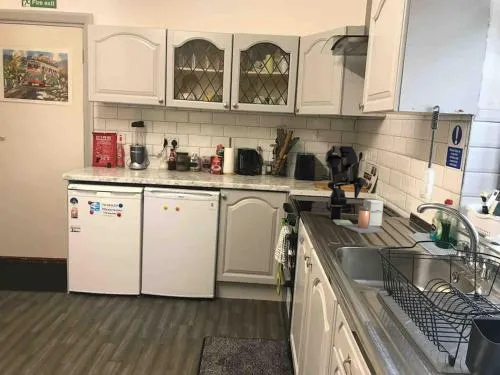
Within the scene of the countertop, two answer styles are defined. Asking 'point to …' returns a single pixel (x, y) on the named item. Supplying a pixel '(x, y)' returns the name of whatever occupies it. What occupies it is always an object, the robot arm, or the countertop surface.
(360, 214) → the terracotta jar
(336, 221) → the sage tile
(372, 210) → the supplement box
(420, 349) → the countertop surface
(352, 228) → the gray board
